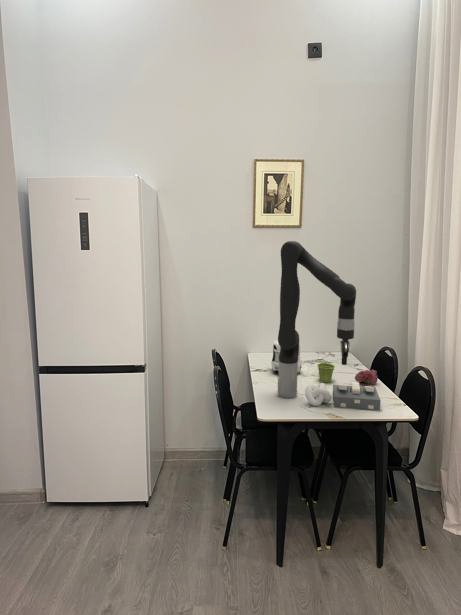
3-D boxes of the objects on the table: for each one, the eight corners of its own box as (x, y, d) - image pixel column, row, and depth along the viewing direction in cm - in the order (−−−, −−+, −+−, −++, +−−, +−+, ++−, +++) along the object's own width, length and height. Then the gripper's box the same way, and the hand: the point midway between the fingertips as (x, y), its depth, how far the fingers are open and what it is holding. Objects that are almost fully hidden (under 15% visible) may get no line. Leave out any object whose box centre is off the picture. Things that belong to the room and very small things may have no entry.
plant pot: (337, 380, 219) (338, 365, 217) (328, 385, 212) (329, 369, 211) (322, 376, 225) (322, 362, 224) (313, 381, 218) (313, 365, 217)
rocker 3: (366, 391, 184) (366, 387, 185) (364, 389, 191) (364, 385, 191) (374, 391, 184) (374, 387, 184) (371, 389, 191) (371, 386, 191)
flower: (356, 386, 219) (362, 370, 221) (374, 392, 213) (380, 375, 215) (351, 380, 210) (357, 362, 213) (369, 385, 204) (375, 368, 207)
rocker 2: (352, 393, 186) (352, 390, 186) (351, 384, 193) (351, 381, 192) (360, 394, 186) (360, 390, 185) (358, 385, 192) (359, 382, 191)
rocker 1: (339, 389, 187) (339, 385, 187) (338, 387, 194) (338, 384, 194) (346, 389, 186) (347, 386, 186) (345, 388, 193) (345, 384, 193)
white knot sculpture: (313, 410, 181) (314, 391, 180) (299, 400, 192) (299, 382, 190) (334, 406, 185) (334, 387, 184) (318, 397, 196) (319, 379, 195)
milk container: (300, 367, 241) (300, 338, 238) (302, 377, 224) (303, 346, 221) (271, 367, 243) (271, 338, 240) (271, 376, 226) (271, 345, 223)
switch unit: (334, 407, 184) (334, 391, 183) (332, 394, 200) (333, 380, 198) (380, 410, 180) (380, 395, 179) (374, 397, 196) (375, 382, 194)
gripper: (336, 324, 190) (335, 359, 193) (338, 330, 177) (336, 368, 180) (352, 325, 188) (351, 360, 191) (355, 331, 176) (353, 369, 178)
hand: (344, 364), depth 186 cm, fingers closed
